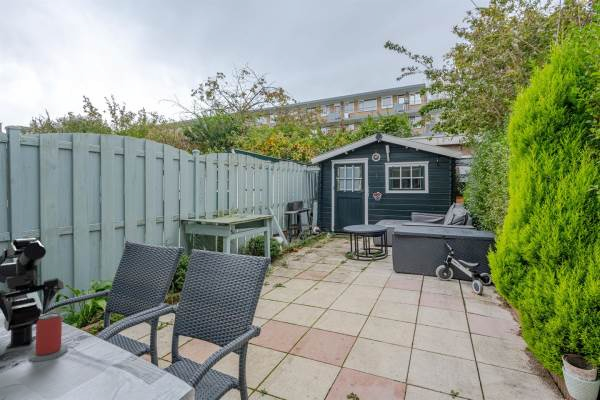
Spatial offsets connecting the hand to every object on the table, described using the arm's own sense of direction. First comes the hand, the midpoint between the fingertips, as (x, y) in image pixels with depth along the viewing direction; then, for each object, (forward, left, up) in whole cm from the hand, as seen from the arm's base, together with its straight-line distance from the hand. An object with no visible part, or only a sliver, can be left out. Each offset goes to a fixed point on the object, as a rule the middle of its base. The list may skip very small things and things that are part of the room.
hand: (26, 316), depth 97 cm
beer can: (0, +6, -13) cm, 14 cm away
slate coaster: (+1, +6, -13) cm, 15 cm away
